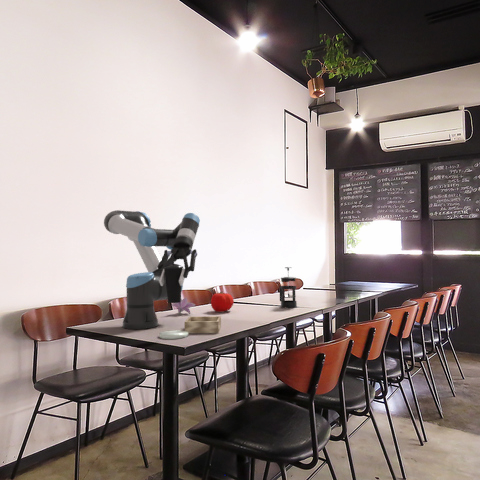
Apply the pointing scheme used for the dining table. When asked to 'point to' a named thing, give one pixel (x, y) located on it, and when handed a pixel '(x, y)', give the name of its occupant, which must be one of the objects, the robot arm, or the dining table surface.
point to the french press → (282, 293)
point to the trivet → (173, 334)
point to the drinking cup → (173, 281)
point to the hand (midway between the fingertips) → (170, 283)
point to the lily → (183, 305)
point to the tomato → (221, 302)
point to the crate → (203, 324)
